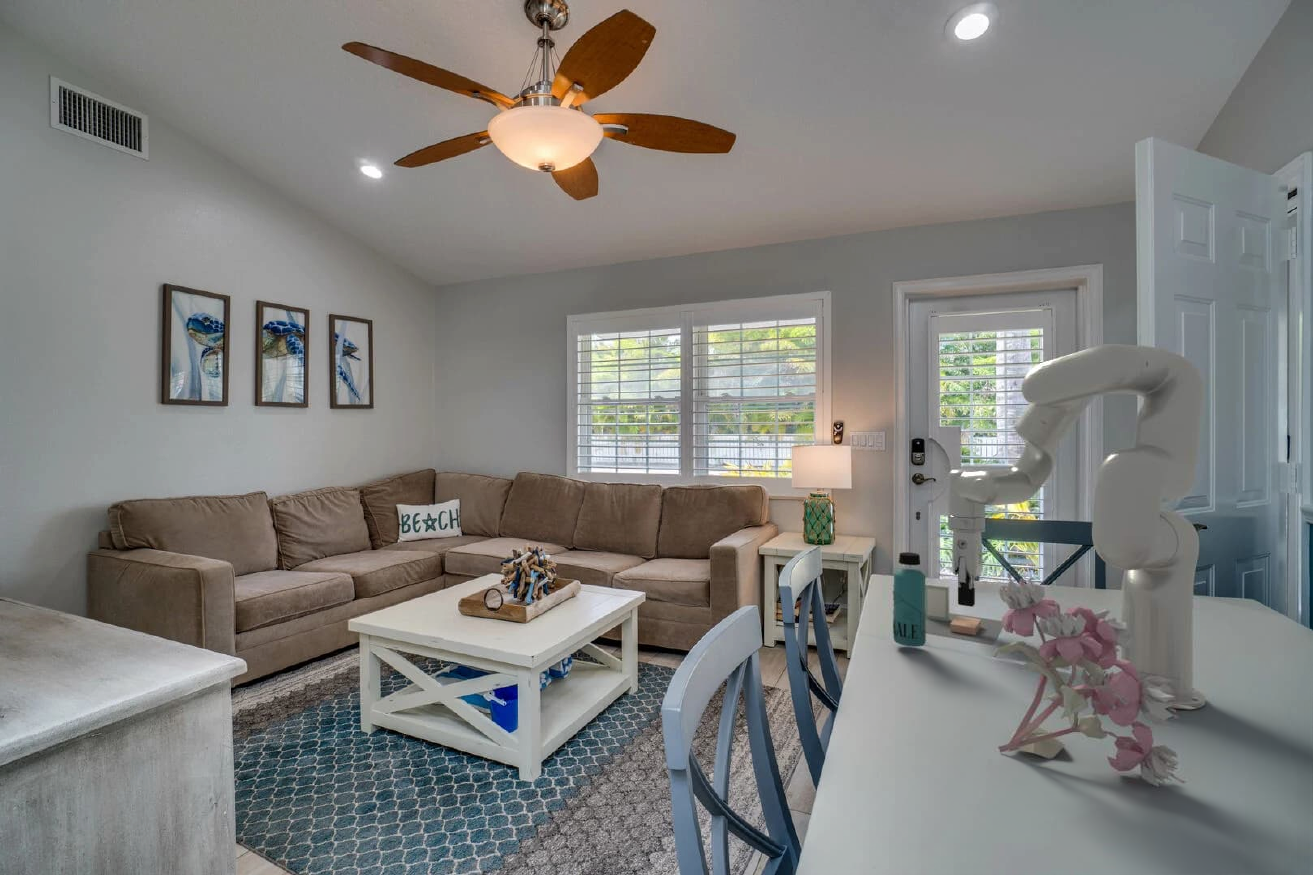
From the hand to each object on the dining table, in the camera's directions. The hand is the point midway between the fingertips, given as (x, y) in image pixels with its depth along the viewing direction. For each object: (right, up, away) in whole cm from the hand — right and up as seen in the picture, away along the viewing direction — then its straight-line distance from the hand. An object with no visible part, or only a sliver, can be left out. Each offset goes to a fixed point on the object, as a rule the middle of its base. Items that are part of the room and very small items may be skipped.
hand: (966, 604), depth 140 cm
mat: (-2, -6, +3) cm, 7 cm away
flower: (-11, -6, -57) cm, 58 cm away
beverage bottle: (-18, -6, -11) cm, 22 cm away
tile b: (-3, -6, +8) cm, 10 cm away
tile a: (+2, -4, +3) cm, 6 cm away
